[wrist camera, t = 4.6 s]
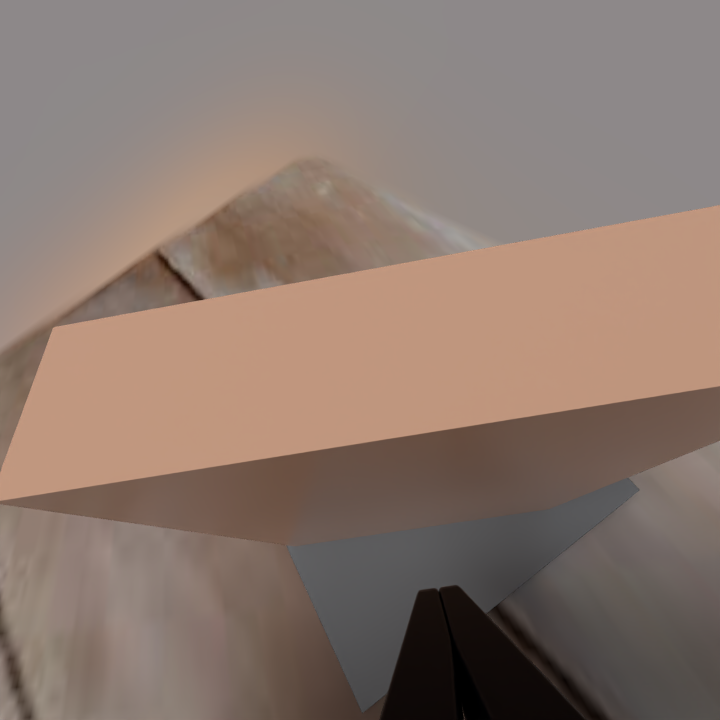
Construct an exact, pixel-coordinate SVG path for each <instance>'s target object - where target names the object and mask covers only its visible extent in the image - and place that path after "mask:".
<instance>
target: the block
mask: <svg viewBox="0 0 720 720" xmlns="http://www.w3.org/2000/svg"><path fill="white" fill-rule="evenodd" d="M717 441H720V205H718V206H713V207H707V208H702V209H696V210H691V211H686V212H680V213H675V214H669V215H664V216H658V217H653V218H648V219H642V220H636V221H631V222H626V223H620V224H615V225H609V226H604V227H598V228H593V229H588V230H582V231H576V232H572V233H565V234H560V235H555V236H550V237H544V238H539V239H533V240H528V241H522V242H516V243H511V244H506V245H500V246H495V247H489V248H484V249H478V250H473V251H467V252H462V253H456V254H451V255H446V256H440V257H435V258H429V259H424V260H418V261H413V262H407V263H402V264H396V265H391V266H386V267H380V268H375V269H369V270H364V271H358V272H353V273H347V274H342V275H336V276H331V277H326V278H320V279H315V280H309V281H304V282H298V283H293V284H287V285H282V286H277V287H271V288H266V289H260V290H255V291H249V292H244V293H238V294H233V295H227V296H222V297H217V298H211V299H206V300H200V301H195V302H189V303H184V304H178V305H173V306H167V307H162V308H157V309H151V310H146V311H140V312H135V313H129V314H124V315H118V316H113V317H107V318H102V319H97V320H91V321H86V322H80V323H75V324H69V325H64V326H58V327H53V330H52V333H51V336H50V338H49V341H48V344H47V347H46V349H45V352H44V355H43V357H42V360H41V363H40V366H39V368H38V371H37V374H36V376H35V379H34V382H33V385H32V387H31V390H30V393H29V396H28V398H27V401H26V404H25V406H24V409H23V412H22V415H21V417H20V420H19V423H18V425H17V428H16V431H15V434H14V436H13V439H12V442H11V445H10V447H9V450H8V453H7V455H6V458H5V461H4V464H3V466H2V469H1V472H0V504H3V505H10V506H17V507H24V508H31V509H38V510H44V511H51V512H58V513H65V514H72V515H79V516H86V517H93V518H100V519H107V520H114V521H121V522H128V523H135V524H142V525H149V526H156V527H162V528H169V529H176V530H183V531H190V532H197V533H204V534H211V535H218V536H225V537H232V538H239V539H246V540H253V541H260V542H267V543H274V544H280V545H287V546H301V545H308V544H315V543H321V542H328V541H335V540H342V539H349V538H356V537H363V536H369V535H376V534H383V533H390V532H397V531H404V530H410V529H417V528H424V527H431V526H438V525H445V524H451V523H458V522H465V521H472V520H479V519H486V518H492V517H499V516H506V515H513V514H520V513H527V512H533V511H540V510H547V509H551V508H553V507H556V506H558V505H561V504H563V503H566V502H568V501H571V500H573V499H576V498H578V497H581V496H583V495H585V494H588V493H590V492H593V491H595V490H598V489H600V488H603V487H605V486H608V485H610V484H613V483H615V482H618V481H620V480H623V479H625V478H628V477H630V476H633V475H635V474H638V473H640V472H643V471H645V470H648V469H650V468H653V467H655V466H658V465H660V464H663V463H665V462H668V461H670V460H673V459H675V458H678V457H680V456H683V455H685V454H688V453H690V452H693V451H695V450H698V449H700V448H703V447H705V446H707V445H710V444H712V443H715V442H717Z"/></svg>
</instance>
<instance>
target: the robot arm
mask: <svg viewBox="0 0 720 720" xmlns="http://www.w3.org/2000/svg"><path fill="white" fill-rule="evenodd" d="M462 709H463V710H462ZM463 713H464V717H465V720H587V719H586V718H585V717H584V716H583V715H582V714H581V713H580V712H579V711H578V710H577V709H576V708H575V707H574V706H573V705H572V704H571V703H570V702H569V700H568V699H567V698H566V697H565V696H564V695H563V694H562V693H561V692H560V691H559V690H558V689H557V688H556V687H555V686H554V685H553V684H552V683H551V682H550V681H549V679H548V678H547V677H546V676H545V675H544V674H543V673H542V672H541V671H540V670H539V669H538V668H537V667H536V666H535V665H534V664H533V663H532V662H531V661H530V660H529V659H528V657H527V656H526V655H525V654H524V653H523V652H522V651H521V650H520V649H519V648H518V647H517V646H516V645H515V644H514V643H513V642H512V641H511V640H510V639H509V638H508V637H507V635H506V634H505V633H504V632H503V631H502V630H501V629H500V628H499V627H498V626H497V625H496V624H495V623H494V622H493V621H492V620H491V619H490V618H489V617H488V616H487V614H486V613H485V612H484V611H483V610H482V609H481V608H480V607H479V606H478V605H477V604H476V603H475V602H474V601H473V600H472V599H471V598H470V597H469V596H468V595H467V594H466V592H465V591H464V590H463V589H462V588H461V587H460V586H458V585H451V586H444V587H440V588H439V591H438V589H436V588H430V589H423V590H419V591H418V593H417V595H416V599H415V602H414V605H413V609H412V612H411V615H410V619H409V622H408V625H407V629H406V632H405V635H404V639H403V642H402V645H401V649H400V652H399V655H398V659H397V662H396V665H395V669H394V672H393V675H392V679H391V682H390V686H389V689H388V692H387V696H386V699H385V702H384V706H383V709H382V712H381V716H380V719H379V720H464V717H463Z"/></svg>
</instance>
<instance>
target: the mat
mask: <svg viewBox="0 0 720 720" xmlns="http://www.w3.org/2000/svg"><path fill="white" fill-rule="evenodd" d="M638 491H639V489H638V488H637V487H636V486H635V485H634V484H633V483H632V482H631V481H630V480H629V479H628V478H625V479H623V480H620V481H618V482H615V483H613V484H610V485H608V486H605V487H603V488H600V489H598V490H595V491H593V492H590V493H588V494H585V495H583V496H581V497H578V498H576V499H573V500H571V501H568V502H566V503H563V504H561V505H558V506H556V507H553V508H551V509H547V510H540V511H533V512H527V513H520V514H513V515H506V516H499V517H492V518H486V519H479V520H472V521H465V522H458V523H451V524H445V525H438V526H431V527H424V528H417V529H410V530H404V531H397V532H390V533H383V534H376V535H369V536H363V537H356V538H349V539H342V540H335V541H328V542H321V543H315V544H308V545H301V546H287V545H286V546H287V548H288V550H289V553H290V555H291V557H292V559H293V561H294V564H295V566H296V568H297V570H298V573H299V575H300V577H301V579H302V581H303V584H304V586H305V588H306V590H307V592H308V595H309V597H310V599H311V601H312V603H313V606H314V608H315V610H316V612H317V614H318V617H319V619H320V621H321V623H322V625H323V628H324V630H325V632H326V634H327V636H328V639H329V641H330V643H331V645H332V647H333V650H334V652H335V654H336V656H337V658H338V661H339V663H340V665H341V667H342V670H343V672H344V674H345V676H346V678H347V681H348V683H349V685H350V687H351V689H352V692H353V694H354V696H355V698H356V700H357V703H358V705H359V707H360V709H361V711H362V713H363V712H364V711H366V710H367V709H368V708H369V707H371V706H372V705H373V704H374V703H376V702H377V701H378V700H379V699H381V698H382V697H383V696H384V695H386V694H387V692H388V689H389V686H390V682H391V679H392V675H393V672H394V669H395V665H396V662H397V659H398V655H399V652H400V649H401V645H402V642H403V639H404V635H405V632H406V629H407V625H408V622H409V619H410V615H411V612H412V609H413V605H414V602H415V599H416V595H417V593H418V591H419V590H423V589H430V588H436V589H438V591H439V588H440V587H444V586H451V585H458V586H460V587H461V588H462V589H463V590H464V591H465V592H466V594H467V595H468V596H469V597H470V598H471V599H472V600H473V601H474V602H475V603H476V604H477V605H478V606H479V607H480V608H481V609H482V610H483V611H484V612H485V613H487V612H489V611H490V610H491V609H492V608H494V607H495V606H496V605H497V604H499V603H500V602H501V601H502V600H504V599H505V598H506V597H507V596H509V595H510V594H511V593H512V592H514V591H515V590H516V589H517V588H519V587H520V586H521V585H522V584H524V583H525V582H526V581H527V580H528V579H530V578H531V577H532V576H533V575H535V574H536V573H537V572H538V571H540V570H541V569H542V568H543V567H545V566H546V565H547V564H548V563H550V562H551V561H552V560H553V559H555V558H556V557H557V556H558V555H560V554H561V553H562V552H563V551H565V550H566V549H567V548H568V547H569V546H571V545H572V544H573V543H574V542H576V541H577V540H578V539H579V538H581V537H582V536H583V535H584V534H586V533H587V532H588V531H589V530H591V529H592V528H593V527H594V526H596V525H597V524H598V523H599V522H601V521H602V520H603V519H604V518H606V517H607V516H608V515H609V514H610V513H612V512H613V511H614V510H615V509H617V508H618V507H619V506H620V505H622V504H623V503H624V502H625V501H627V500H628V499H629V498H630V497H632V496H633V495H634V494H635V493H637V492H638Z"/></svg>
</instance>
